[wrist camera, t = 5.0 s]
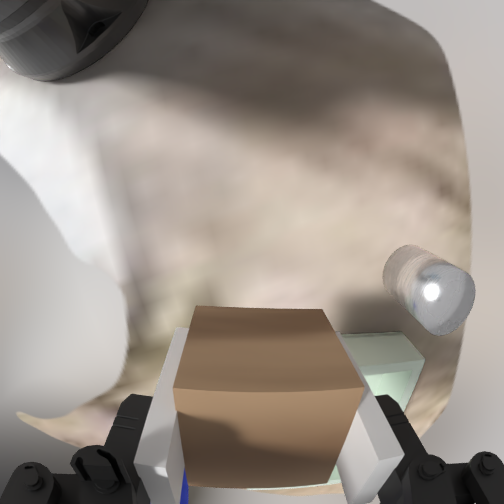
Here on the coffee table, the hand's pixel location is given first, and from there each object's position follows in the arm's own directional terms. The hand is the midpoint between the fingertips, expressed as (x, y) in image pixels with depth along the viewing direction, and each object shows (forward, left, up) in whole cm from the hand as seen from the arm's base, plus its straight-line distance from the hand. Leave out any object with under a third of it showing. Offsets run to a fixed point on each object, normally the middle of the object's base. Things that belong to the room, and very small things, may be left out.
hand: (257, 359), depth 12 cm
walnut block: (0, 0, 0) cm, 1 cm away
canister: (0, +14, -12) cm, 19 cm away
